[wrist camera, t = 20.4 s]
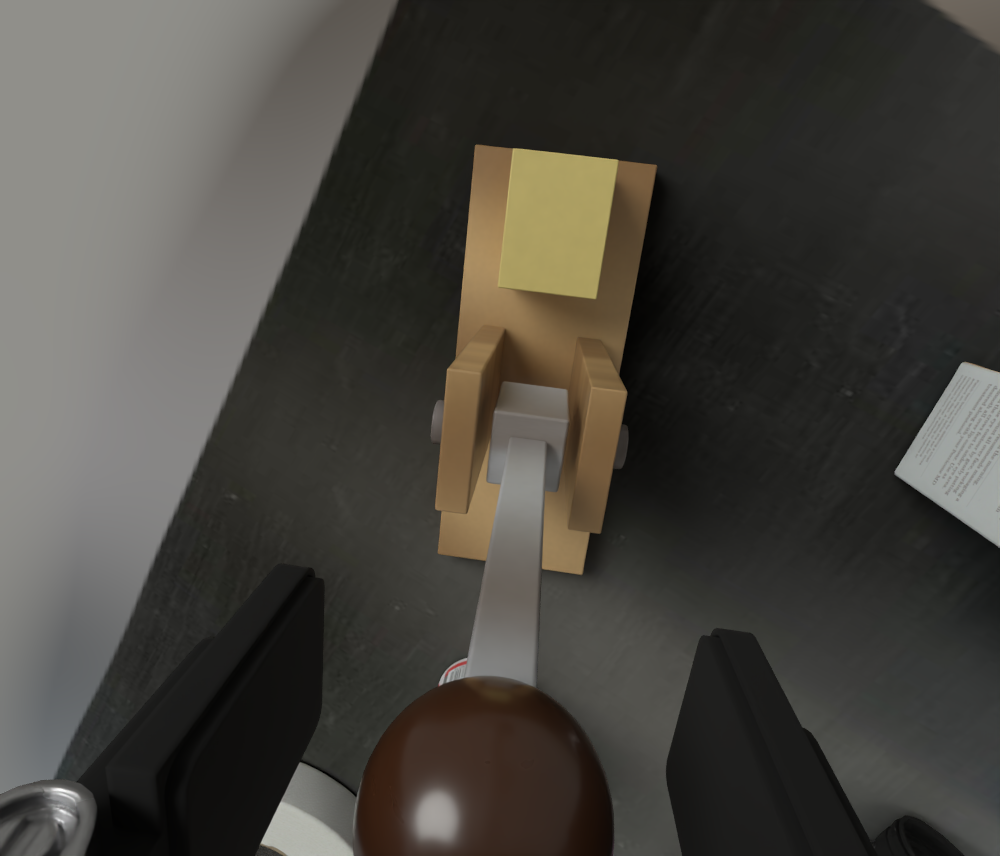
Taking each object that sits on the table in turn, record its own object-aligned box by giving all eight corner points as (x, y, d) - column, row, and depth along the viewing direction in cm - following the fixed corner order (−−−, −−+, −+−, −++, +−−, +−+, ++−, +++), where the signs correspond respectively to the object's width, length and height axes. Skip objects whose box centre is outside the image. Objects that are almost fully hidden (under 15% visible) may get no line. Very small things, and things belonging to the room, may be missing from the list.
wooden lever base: (478, 147, 23) (429, 85, 14) (653, 168, 23) (723, 118, 14) (441, 544, 29) (389, 688, 20) (581, 564, 29) (596, 720, 19)
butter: (590, 291, 24) (596, 299, 20) (504, 281, 24) (497, 287, 20) (609, 172, 22) (619, 159, 19) (518, 161, 22) (512, 147, 19)
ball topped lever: (304, 847, 5) (313, 1026, 6) (660, 908, 5) (598, 1078, 6) (488, 366, 19) (479, 454, 20) (585, 379, 19) (570, 466, 20)
